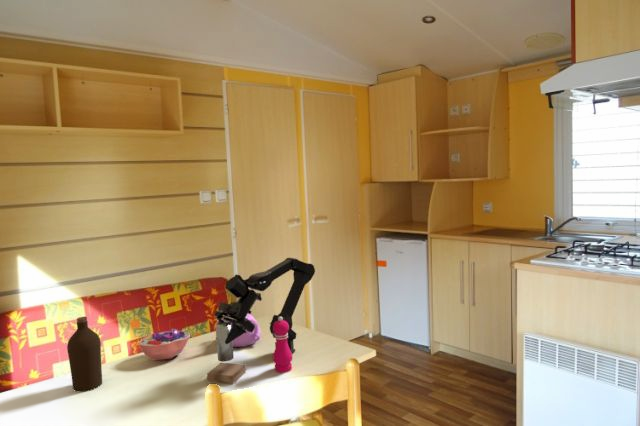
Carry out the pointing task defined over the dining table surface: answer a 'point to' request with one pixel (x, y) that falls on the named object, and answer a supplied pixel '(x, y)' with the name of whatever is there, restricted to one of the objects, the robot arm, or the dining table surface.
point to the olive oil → (85, 357)
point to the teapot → (248, 334)
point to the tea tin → (222, 348)
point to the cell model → (164, 344)
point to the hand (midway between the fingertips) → (221, 341)
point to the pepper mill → (282, 347)
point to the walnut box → (226, 373)
